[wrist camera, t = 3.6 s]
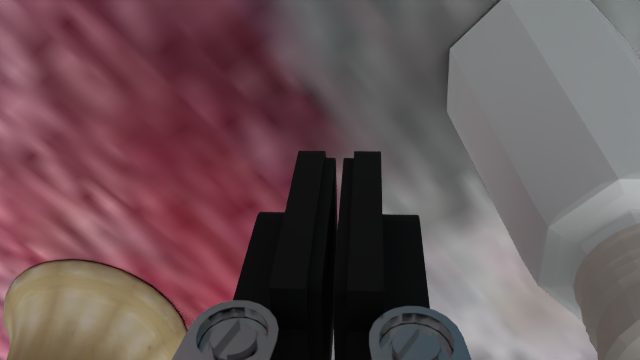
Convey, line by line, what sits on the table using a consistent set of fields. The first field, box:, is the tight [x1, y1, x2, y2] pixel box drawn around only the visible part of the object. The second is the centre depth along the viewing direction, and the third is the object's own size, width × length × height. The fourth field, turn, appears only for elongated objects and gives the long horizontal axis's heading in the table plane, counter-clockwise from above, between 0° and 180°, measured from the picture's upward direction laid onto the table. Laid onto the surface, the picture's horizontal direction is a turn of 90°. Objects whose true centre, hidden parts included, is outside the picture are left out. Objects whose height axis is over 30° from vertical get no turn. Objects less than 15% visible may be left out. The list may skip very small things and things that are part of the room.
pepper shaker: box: [447, 0, 640, 360], centre depth 13 cm, size 5×5×11 cm
